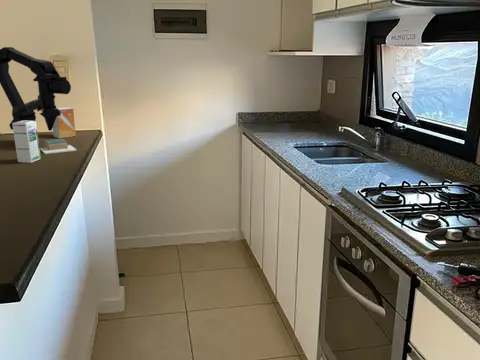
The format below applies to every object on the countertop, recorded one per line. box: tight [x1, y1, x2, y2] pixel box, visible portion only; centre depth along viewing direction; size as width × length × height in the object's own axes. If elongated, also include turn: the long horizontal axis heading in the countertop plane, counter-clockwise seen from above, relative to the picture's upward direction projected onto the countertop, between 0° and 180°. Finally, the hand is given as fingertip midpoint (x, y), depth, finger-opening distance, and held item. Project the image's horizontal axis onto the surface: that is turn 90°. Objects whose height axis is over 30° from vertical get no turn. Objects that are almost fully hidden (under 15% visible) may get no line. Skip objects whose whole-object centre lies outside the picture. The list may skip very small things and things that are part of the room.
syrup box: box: [12, 120, 42, 164], centre depth 167 cm, size 6×6×14 cm
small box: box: [52, 106, 77, 139], centre depth 212 cm, size 8×6×13 cm
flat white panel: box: [39, 144, 77, 155], centre depth 187 cm, size 10×12×1 cm
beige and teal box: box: [44, 138, 69, 150], centre depth 188 cm, size 3×7×8 cm
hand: (50, 130), depth 194 cm, fingers closed
